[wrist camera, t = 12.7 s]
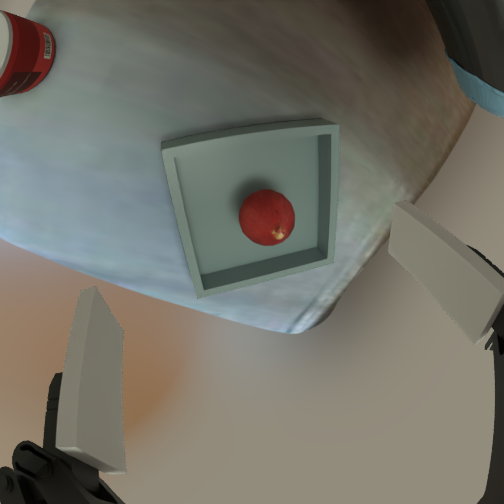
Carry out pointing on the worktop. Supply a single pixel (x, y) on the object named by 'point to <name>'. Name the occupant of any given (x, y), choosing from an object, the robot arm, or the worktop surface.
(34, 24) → the canned food
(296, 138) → the bin
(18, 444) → the robot arm
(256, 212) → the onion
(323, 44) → the worktop surface
